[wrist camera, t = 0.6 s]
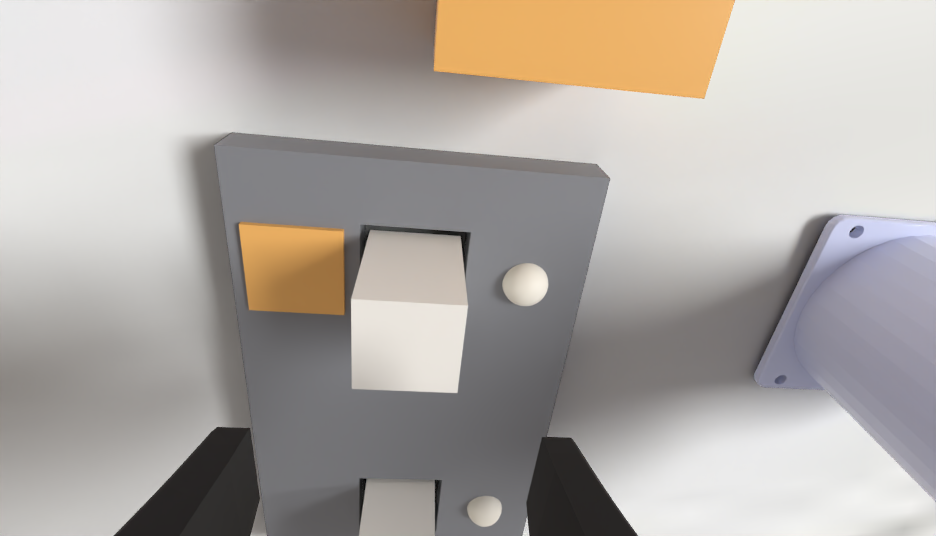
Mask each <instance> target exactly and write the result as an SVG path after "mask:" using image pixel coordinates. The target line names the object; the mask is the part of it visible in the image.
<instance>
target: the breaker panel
mask: <svg viewBox="0 0 936 536" xmlns="http://www.w3.org/2000/svg"><path fill="white" fill-rule="evenodd" d="M214 149H215V156H216V163H217V171H218V178H219V185H220V193H221V200H222V207H223V215H224V222H225V229H226V237H227V244H228V251H229V259H230V266H231V274H232V281H233V288H234V296H235V303H236V310H237V318H238V325H239V332H240V340H241V347H242V354H243V362H244V369H245V377H246V384H247V391H248V399H249V406H250V413H251V421H252V428H253V435H254V443H255V450H256V457H257V465H258V472H259V479H260V487H261V494H262V502H263V509H264V516H265V524H266V531H267V536H359V531H360V524H361V517H362V509H363V478H371V479H419V480H439V481H438V490H437V499H436V503H435V536H522V534H523V530H524V526H525V522H526V518H527V506H526V502H527V497H528V493H529V489H530V485H531V481H532V477H533V472H534V468H535V464H536V460H537V456H538V452H539V448H540V443H541V439H542V437H547V433H548V429H549V425H550V421H551V417H552V413H553V409H554V405H555V400H556V396H557V392H558V388H559V384H560V380H561V376H562V372H563V368H564V364H565V360H566V356H567V352H568V348H569V344H570V340H571V336H572V331H573V327H574V323H575V319H576V315H577V311H578V307H579V303H580V299H581V295H582V291H583V287H584V283H585V279H586V275H587V271H588V267H589V262H590V258H591V254H592V250H593V246H594V242H595V238H596V234H597V230H598V226H599V222H600V218H601V214H602V210H603V206H604V202H605V198H606V194H607V189H608V185H609V181H610V178H609V177H608V176H607V174H606V173H605V172H604V171H603V170H602V169H601V168H600V167H599V166H598V165H597V164H587V163H576V162H564V161H553V160H541V159H530V158H518V157H507V156H495V155H484V154H472V153H461V152H449V151H438V150H426V149H415V148H403V147H392V146H380V145H369V144H357V143H346V142H334V141H323V140H311V139H300V138H288V137H277V136H265V135H254V134H242V133H231V134H229V135H228V136H227V137H225V138H224V139H222V140H221V141H219V142H218V143H216V144H215V145H214ZM365 225H375V226H389V227H403V228H417V229H431V230H445V231H459V232H466V240H465V249H464V258H463V263H464V272H465V282H466V291H467V300H468V310H467V318H466V327H465V335H464V343H463V351H462V359H461V367H460V375H459V383H458V392H457V393H443V392H417V391H391V390H365V389H352V357H351V298H352V294H353V290H354V287H355V283H356V279H357V276H358V272H359V268H360V265H361V261H362V258H363V254H364V250H365Z"/></svg>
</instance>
